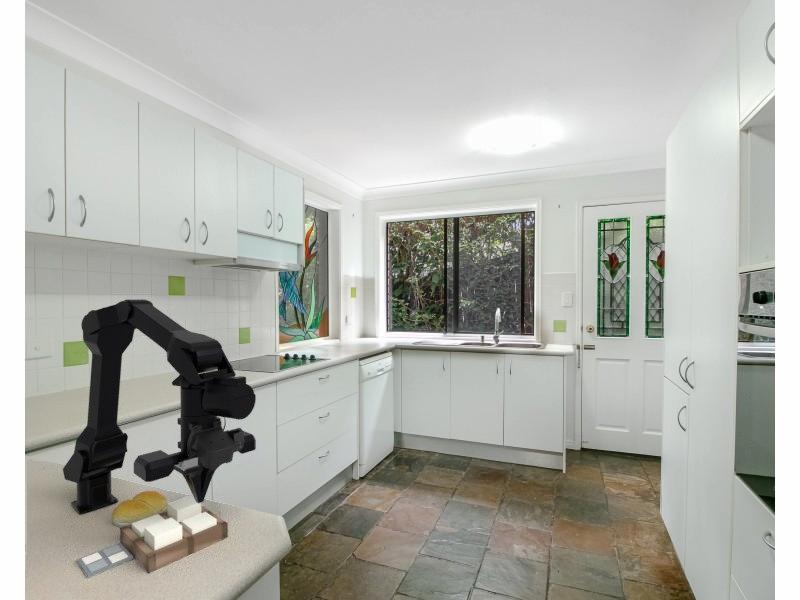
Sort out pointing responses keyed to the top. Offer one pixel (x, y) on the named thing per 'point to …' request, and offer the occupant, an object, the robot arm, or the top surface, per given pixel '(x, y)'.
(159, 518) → the button
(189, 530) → the button
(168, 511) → the button
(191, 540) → the brown flat square grid
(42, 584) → the top surface
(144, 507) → the bread roll
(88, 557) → the pattern card
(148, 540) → the button
